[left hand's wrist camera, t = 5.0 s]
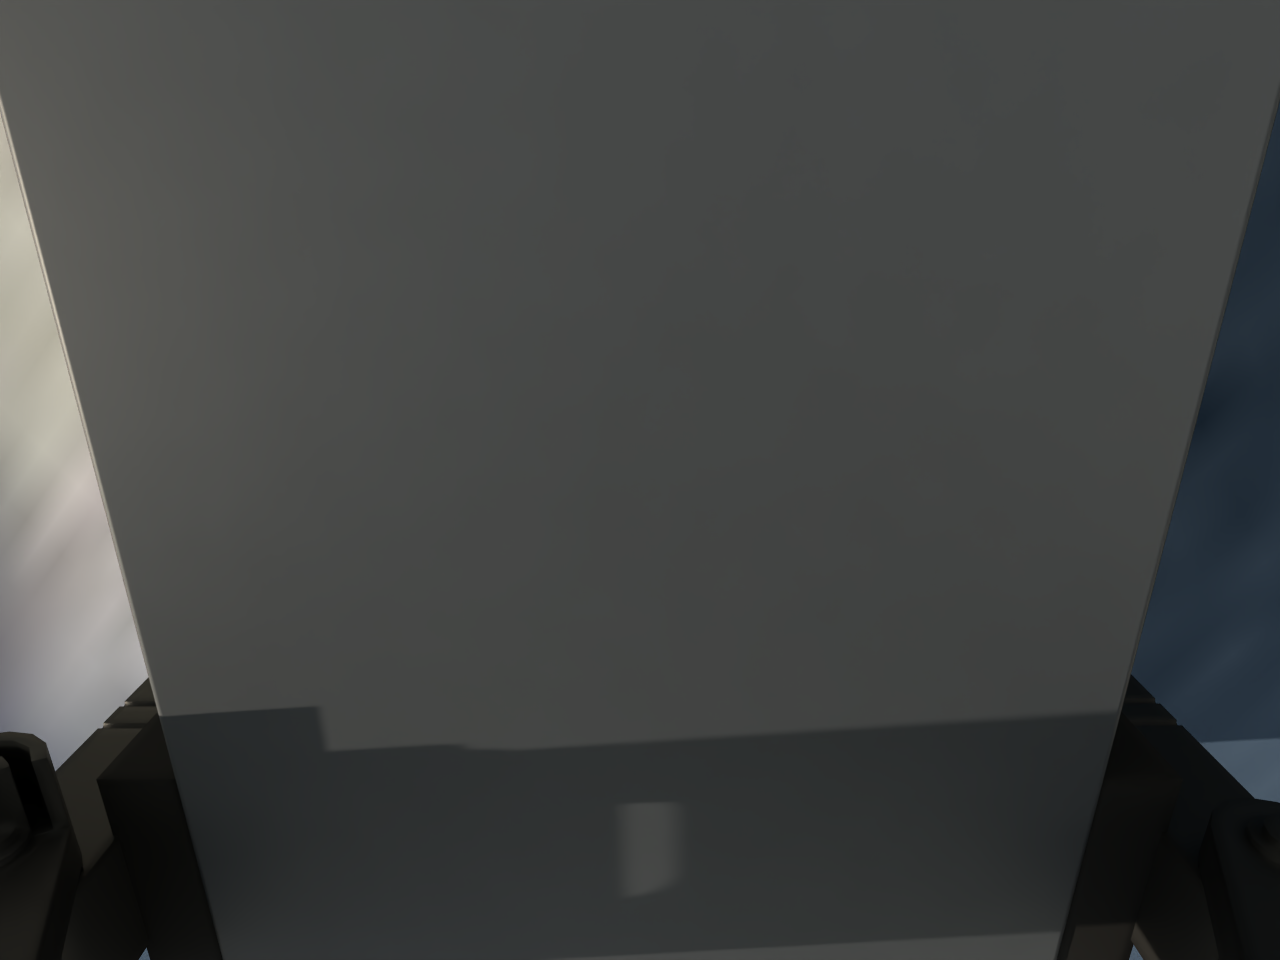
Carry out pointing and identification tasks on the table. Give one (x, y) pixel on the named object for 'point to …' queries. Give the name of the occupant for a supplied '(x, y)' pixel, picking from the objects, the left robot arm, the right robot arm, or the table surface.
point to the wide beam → (639, 444)
